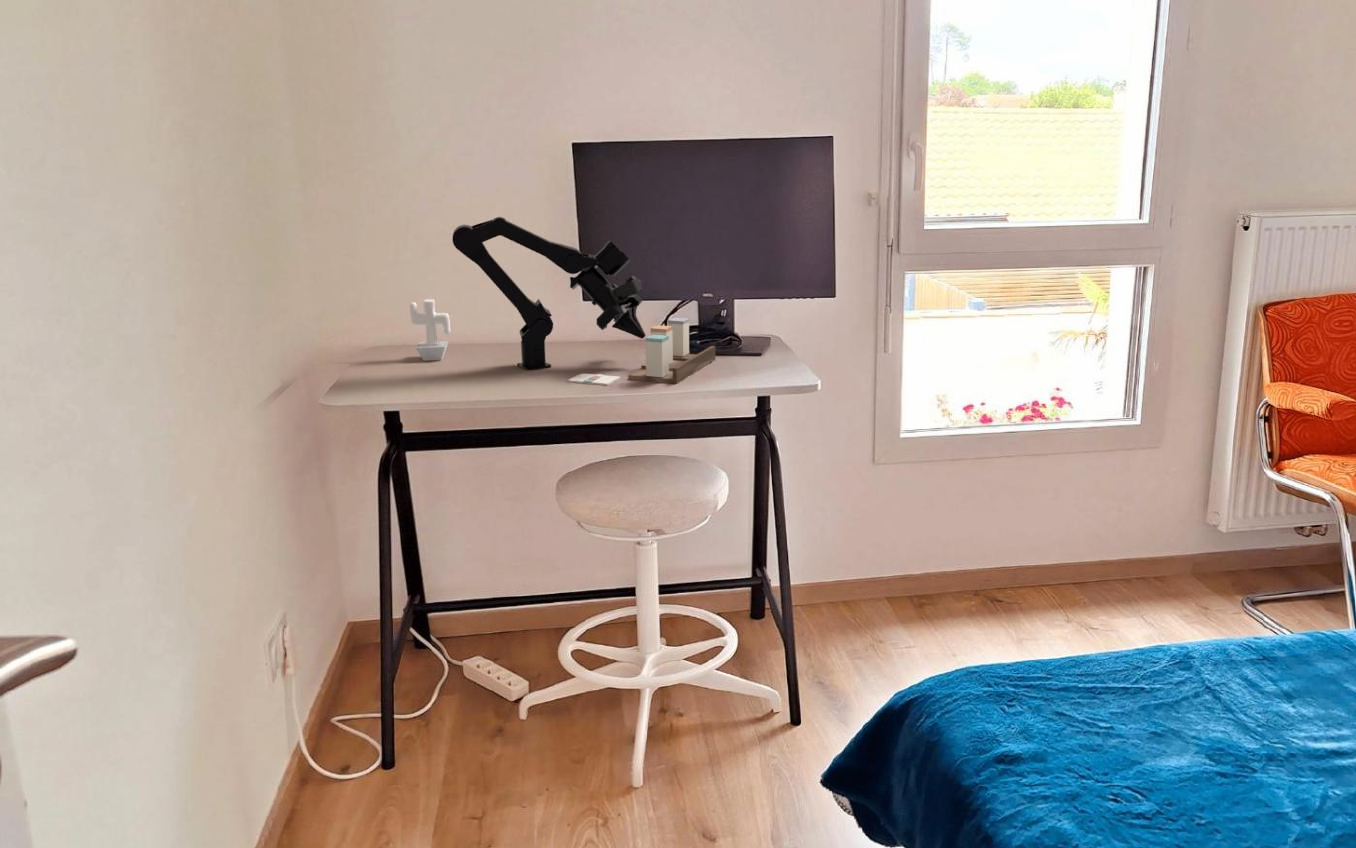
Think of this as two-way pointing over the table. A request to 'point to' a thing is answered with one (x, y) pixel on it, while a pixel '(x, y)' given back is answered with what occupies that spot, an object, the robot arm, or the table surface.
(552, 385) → the table surface
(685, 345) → the grey topped white block
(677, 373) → the brown divided rack
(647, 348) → the white tall block
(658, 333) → the peach block
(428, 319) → the figurine
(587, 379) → the pattern card
